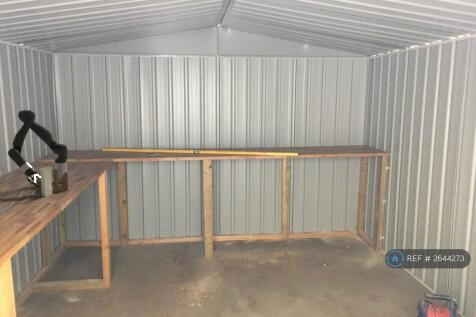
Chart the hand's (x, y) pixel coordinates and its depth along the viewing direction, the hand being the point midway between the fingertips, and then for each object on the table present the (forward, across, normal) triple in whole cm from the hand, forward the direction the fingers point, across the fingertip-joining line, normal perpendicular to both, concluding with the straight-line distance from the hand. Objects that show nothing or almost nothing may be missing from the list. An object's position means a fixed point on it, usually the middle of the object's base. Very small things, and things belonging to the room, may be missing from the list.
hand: (42, 186), depth 317 cm
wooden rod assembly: (+8, +16, +2) cm, 18 cm away
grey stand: (+4, 0, +6) cm, 7 cm away
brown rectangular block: (+3, 0, +5) cm, 6 cm away
